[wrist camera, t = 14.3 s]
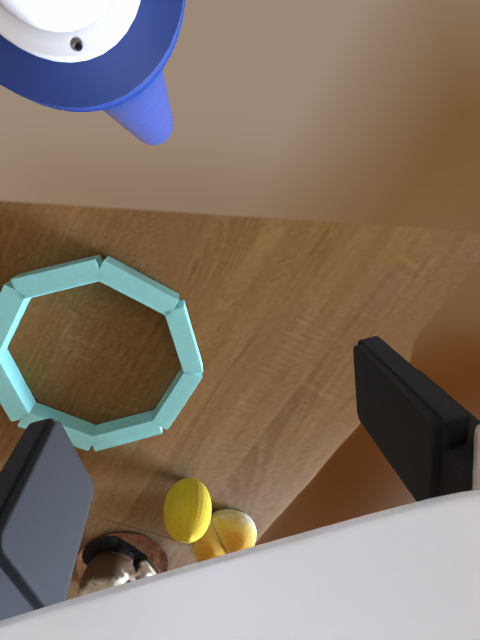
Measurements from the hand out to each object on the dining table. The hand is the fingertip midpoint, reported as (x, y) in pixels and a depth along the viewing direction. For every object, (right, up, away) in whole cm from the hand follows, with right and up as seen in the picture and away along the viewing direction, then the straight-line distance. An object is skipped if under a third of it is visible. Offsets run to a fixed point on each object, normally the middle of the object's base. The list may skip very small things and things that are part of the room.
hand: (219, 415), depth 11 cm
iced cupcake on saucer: (-15, -30, +37) cm, 50 cm away
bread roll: (-2, -26, +38) cm, 46 cm away
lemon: (-6, -17, +34) cm, 38 cm away
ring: (-14, -1, +25) cm, 29 cm away
